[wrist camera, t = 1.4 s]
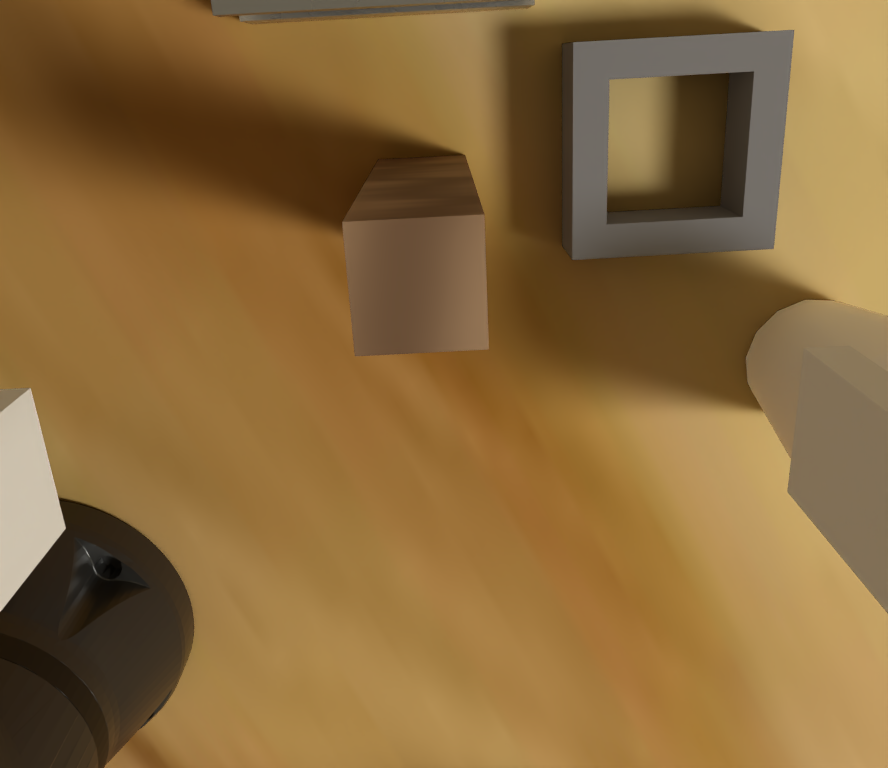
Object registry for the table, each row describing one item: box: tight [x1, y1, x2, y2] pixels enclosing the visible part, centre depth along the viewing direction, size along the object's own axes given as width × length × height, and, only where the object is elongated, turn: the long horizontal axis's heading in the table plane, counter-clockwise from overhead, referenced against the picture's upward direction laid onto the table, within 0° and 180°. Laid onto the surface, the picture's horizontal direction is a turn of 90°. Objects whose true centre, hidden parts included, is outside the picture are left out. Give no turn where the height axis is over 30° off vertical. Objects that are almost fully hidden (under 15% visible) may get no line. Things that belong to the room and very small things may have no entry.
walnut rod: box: [342, 155, 489, 356], centre depth 31 cm, size 4×4×16 cm
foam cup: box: [746, 300, 888, 458], centre depth 36 cm, size 10×9×13 cm
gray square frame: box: [562, 30, 794, 260], centre depth 37 cm, size 9×9×3 cm
